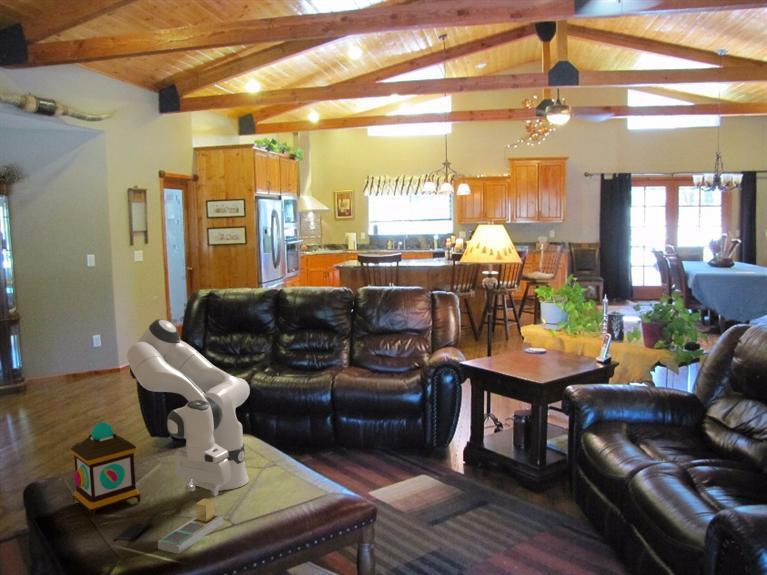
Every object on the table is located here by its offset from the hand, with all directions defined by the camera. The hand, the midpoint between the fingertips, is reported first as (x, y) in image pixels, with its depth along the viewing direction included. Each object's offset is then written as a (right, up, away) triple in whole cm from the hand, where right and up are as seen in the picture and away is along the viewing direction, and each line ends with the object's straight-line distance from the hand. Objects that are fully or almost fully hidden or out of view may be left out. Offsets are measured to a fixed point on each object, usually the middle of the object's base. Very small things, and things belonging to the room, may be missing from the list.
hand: (203, 492), depth 202 cm
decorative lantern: (-40, -11, +20) cm, 46 cm away
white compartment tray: (-2, -12, -5) cm, 13 cm away
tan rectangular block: (0, -11, +1) cm, 11 cm away
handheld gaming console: (-21, -13, -2) cm, 24 cm away
